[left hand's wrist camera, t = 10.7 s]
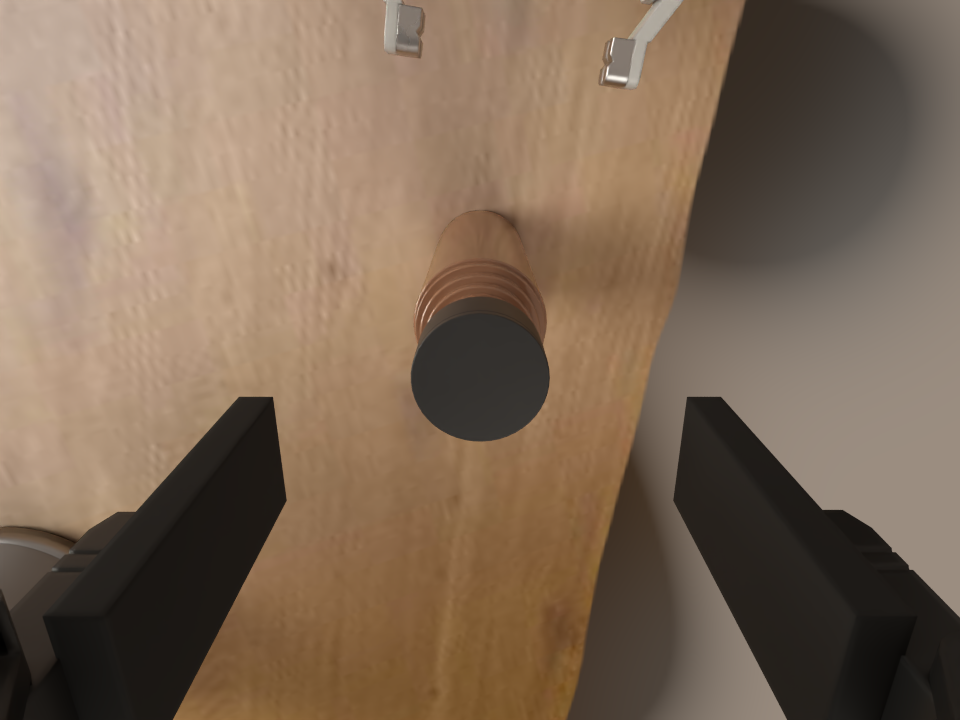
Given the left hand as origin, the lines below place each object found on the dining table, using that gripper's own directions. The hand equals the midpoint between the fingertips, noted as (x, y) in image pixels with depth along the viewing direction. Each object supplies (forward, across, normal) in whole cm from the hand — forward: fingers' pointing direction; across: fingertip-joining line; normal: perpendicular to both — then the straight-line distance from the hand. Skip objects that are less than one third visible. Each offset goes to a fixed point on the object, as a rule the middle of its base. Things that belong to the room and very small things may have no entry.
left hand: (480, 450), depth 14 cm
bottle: (+24, 0, 0) cm, 24 cm away
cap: (+5, 0, 0) cm, 5 cm away
